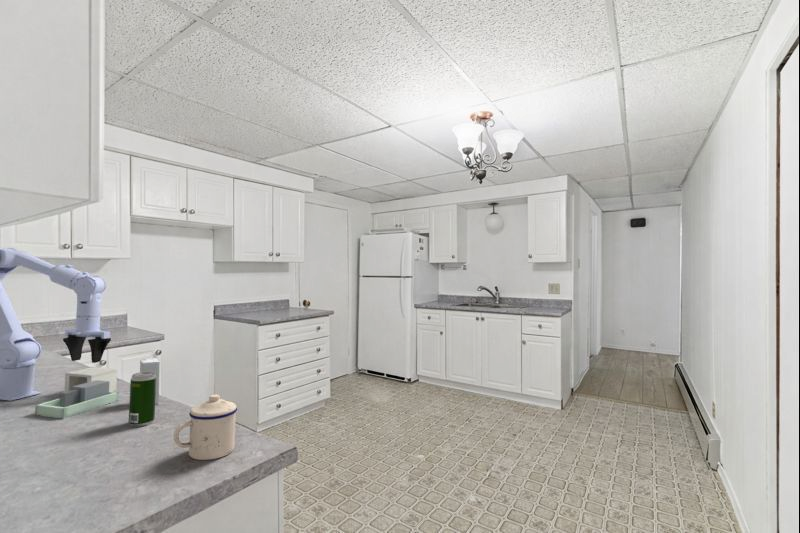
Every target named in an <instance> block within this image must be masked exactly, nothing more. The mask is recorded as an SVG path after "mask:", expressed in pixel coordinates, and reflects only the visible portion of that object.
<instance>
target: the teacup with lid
mask: <svg viewBox="0 0 800 533" xmlns="http://www.w3.org/2000/svg"><path fill="white" fill-rule="evenodd" d="M237 411H238V407H237V405H236V403H234V402H232V401H227V400H226V399H222V398H221V397H220V395H219V394H211V395H209V397H208V399H207V400H205V401H204V402H201V403H199V404H195V405H194V406H193V407H192V408H191V409H190V411H189V417H190V418H189V421H184V422H182V423H181V424H179V425H177V427H175V430H174V432H173V440H174V442H175V444H176V445H177V446H178V447H180V448H182V449H183V448H186V449H187V448H188V455H189V457H191V459H194V460H198V461H209V460H210V461H211V460H217V459H220V458H223V457H225V456H228V455H229V454H231V453H233V451H234V450H235V438H236V437H235V436H236V416H237ZM186 427H189V441H188V442H182V441H180V438H179V435H180V432H181V431H182V430H183V429H184V428H186Z"/></svg>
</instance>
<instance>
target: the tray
mask: <svg viewBox="0 0 800 533" xmlns="http://www.w3.org/2000/svg"><path fill="white" fill-rule="evenodd" d="M116 401H117V402H119V391H109V394H108V395H104V396H101V397H98V398H94V399H91V400H88V401H84V402H81V403H78V404H74V405H71V406H68V407H60V398H56V399H53V400H48V401H45V402H42V403H39V404H35V407H34V416H38V415H41V416H40V417H46V416H47V417H48V418H56V419H61V420H63V419H67V418H69V417H70V418H71V417H72V416H76V415H79V413H80V414H82V412H83V413H85V411H86V412H89V411H92V410H94V408H95V409H97V407H98V408H101V407H104V406H106V404H107V405H110V404H114V403H117V402H116ZM109 403H110V404H109ZM103 405H104V406H103ZM100 406H101V407H100ZM88 410H89V411H88Z"/></svg>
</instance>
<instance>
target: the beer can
mask: <svg viewBox="0 0 800 533" xmlns="http://www.w3.org/2000/svg"><path fill="white" fill-rule="evenodd" d="M155 374H156V373H155V372H141V373H140V372H136V373H133V374H131V378H130V386H129V404H128V424H129V426H130V427H133V428H138V427H146V426H149V425H151V424H153V422H154V421H155V417H156V415H155V414H156V413H155V412H156V405H155V397H156V375H155Z"/></svg>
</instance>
